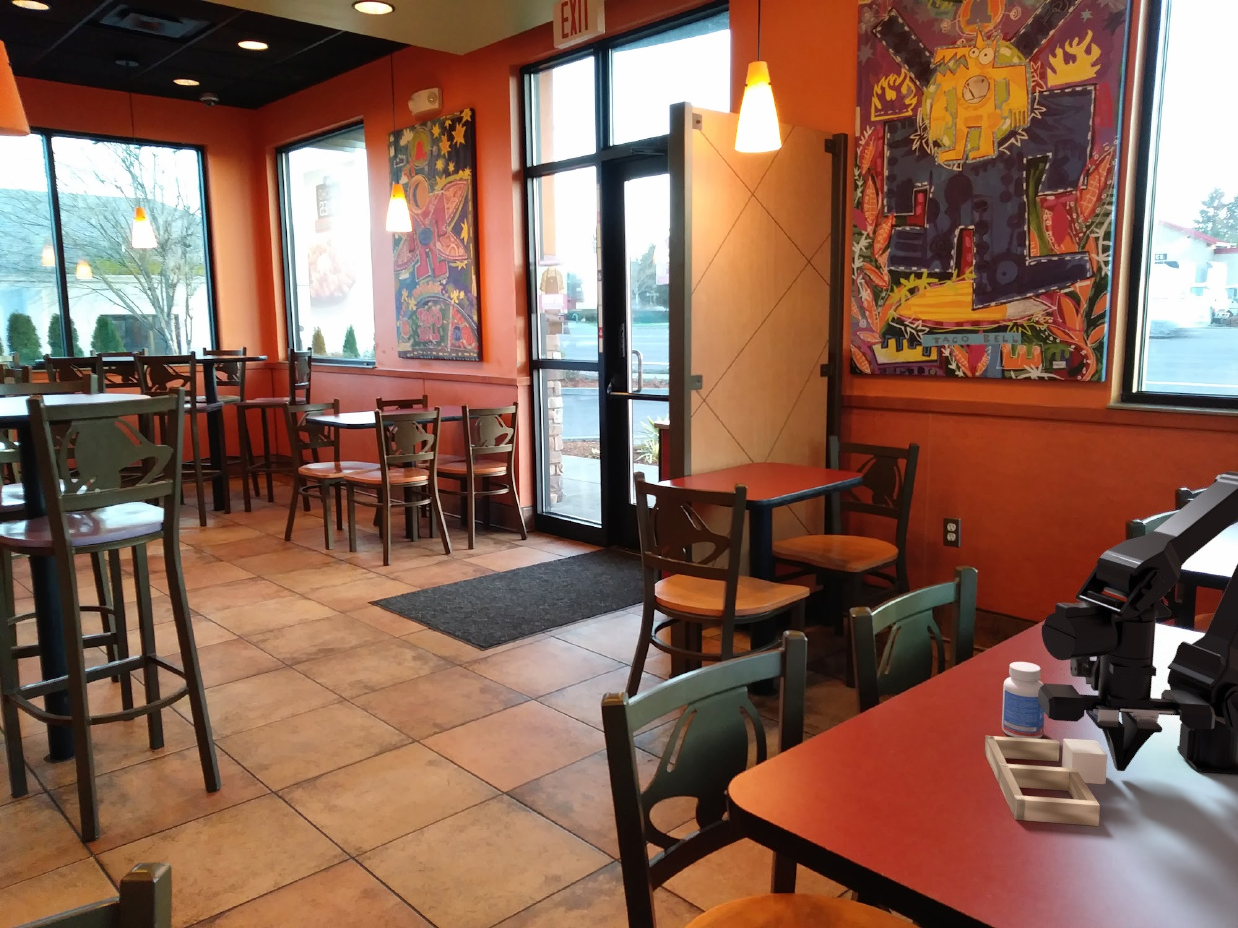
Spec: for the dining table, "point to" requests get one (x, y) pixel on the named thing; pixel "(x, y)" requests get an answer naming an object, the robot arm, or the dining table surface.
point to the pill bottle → (1022, 702)
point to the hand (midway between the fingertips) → (1119, 769)
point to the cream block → (1085, 759)
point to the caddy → (1040, 782)
